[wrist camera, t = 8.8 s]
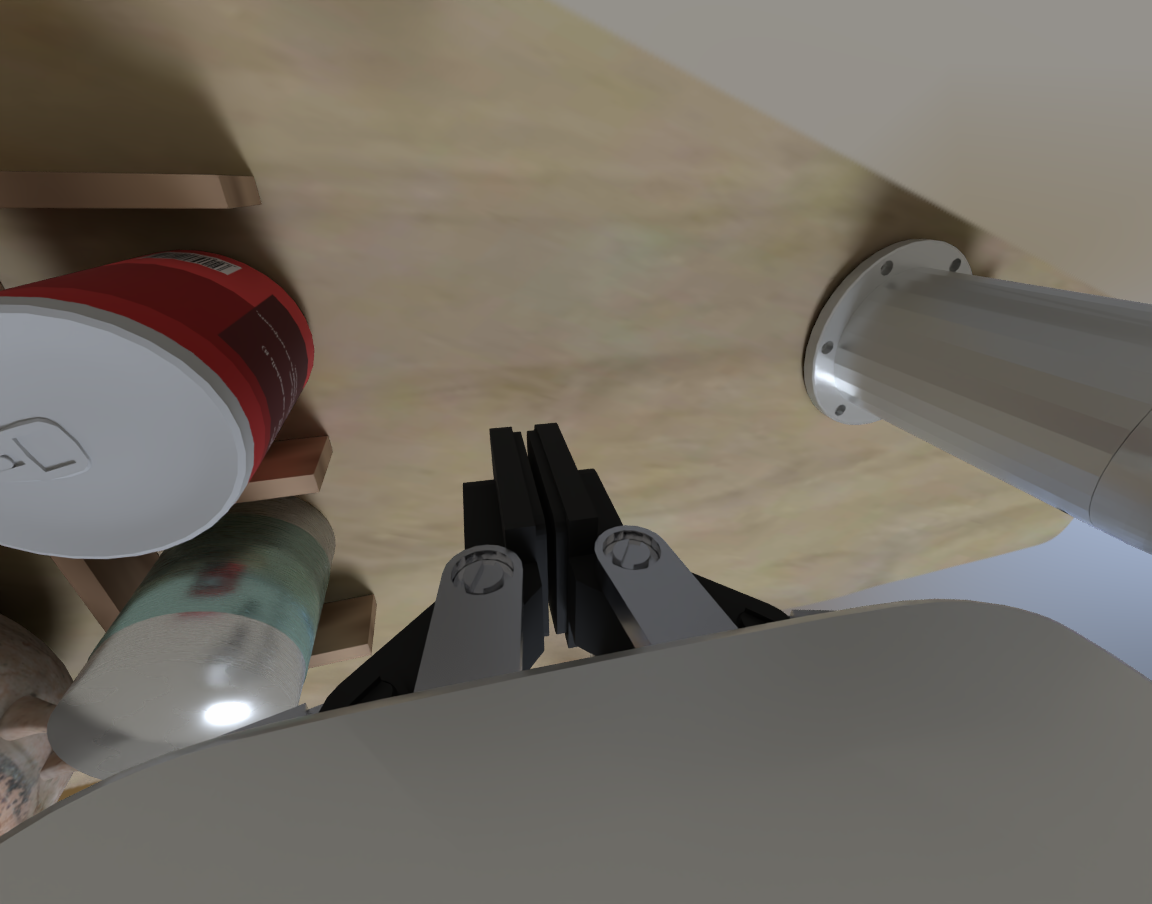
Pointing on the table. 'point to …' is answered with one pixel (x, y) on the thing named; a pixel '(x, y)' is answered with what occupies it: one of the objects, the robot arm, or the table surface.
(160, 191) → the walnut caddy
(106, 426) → the canned food
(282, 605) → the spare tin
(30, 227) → the table surface
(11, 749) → the cooking pot
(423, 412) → the table surface
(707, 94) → the table surface
